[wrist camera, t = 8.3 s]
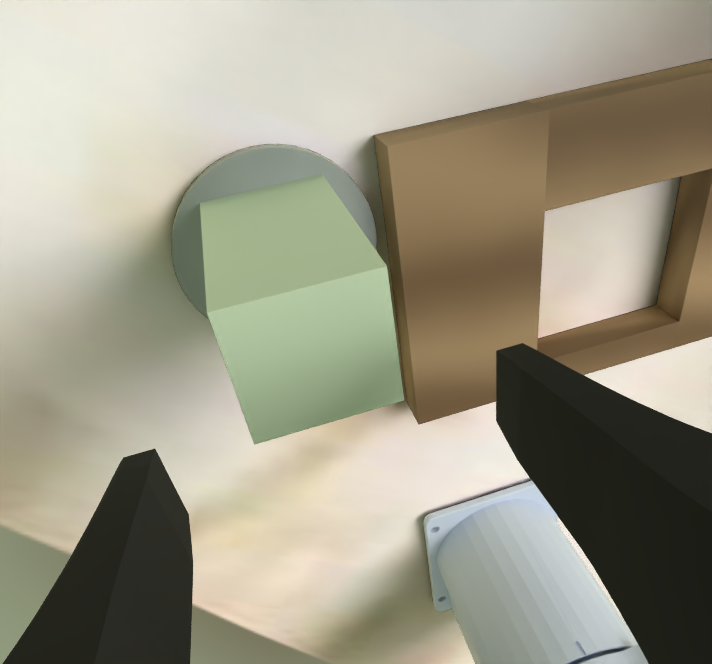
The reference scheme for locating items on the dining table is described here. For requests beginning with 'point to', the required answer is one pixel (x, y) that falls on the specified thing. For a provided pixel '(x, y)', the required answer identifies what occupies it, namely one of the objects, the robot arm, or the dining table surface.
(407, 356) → the pocket board
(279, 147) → the coaster
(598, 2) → the dining table surface
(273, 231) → the block
